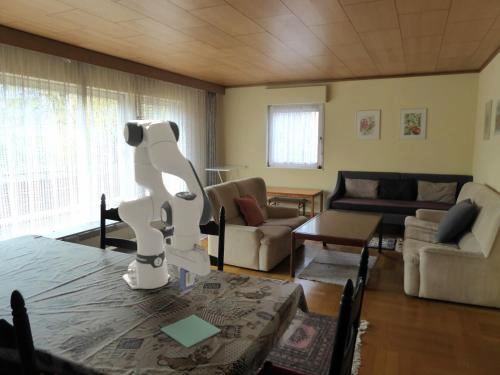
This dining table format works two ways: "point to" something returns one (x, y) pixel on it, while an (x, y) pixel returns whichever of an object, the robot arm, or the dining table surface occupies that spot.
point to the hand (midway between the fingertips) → (187, 281)
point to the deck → (185, 280)
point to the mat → (190, 331)
